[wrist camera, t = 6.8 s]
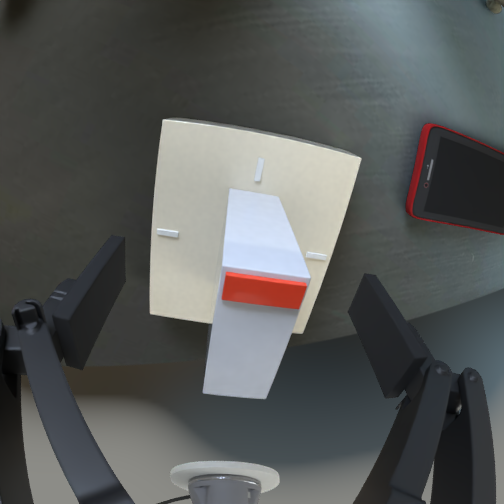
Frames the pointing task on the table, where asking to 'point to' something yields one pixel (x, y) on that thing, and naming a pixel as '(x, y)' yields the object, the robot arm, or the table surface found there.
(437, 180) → the cell phone
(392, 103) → the table surface
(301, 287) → the grey rectangular block
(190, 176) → the cream rectangular base
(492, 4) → the tabletop clock
